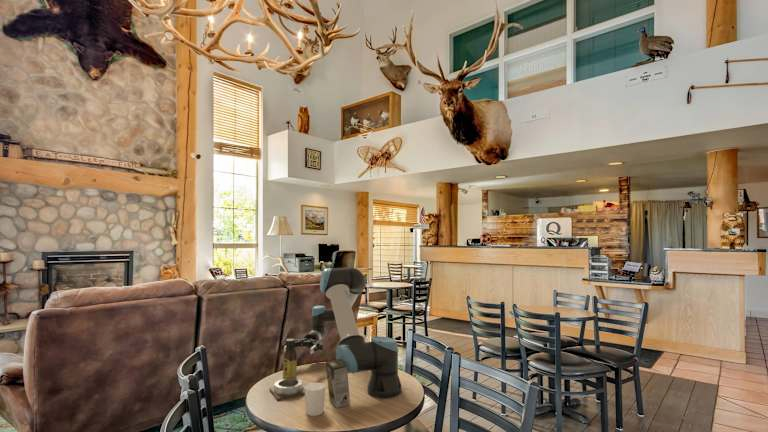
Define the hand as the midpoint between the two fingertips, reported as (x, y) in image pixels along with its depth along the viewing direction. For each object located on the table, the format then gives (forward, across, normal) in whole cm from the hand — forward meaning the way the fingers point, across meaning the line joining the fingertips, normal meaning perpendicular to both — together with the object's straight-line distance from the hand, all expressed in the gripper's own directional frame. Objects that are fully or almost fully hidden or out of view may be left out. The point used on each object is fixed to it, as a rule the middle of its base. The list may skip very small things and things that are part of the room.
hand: (297, 350), depth 201 cm
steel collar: (+21, -4, -12) cm, 24 cm away
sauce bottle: (+10, 0, -12) cm, 15 cm away
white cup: (+37, -22, -12) cm, 45 cm away
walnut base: (+21, -4, -12) cm, 24 cm away
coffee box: (+27, -29, -11) cm, 41 cm away
